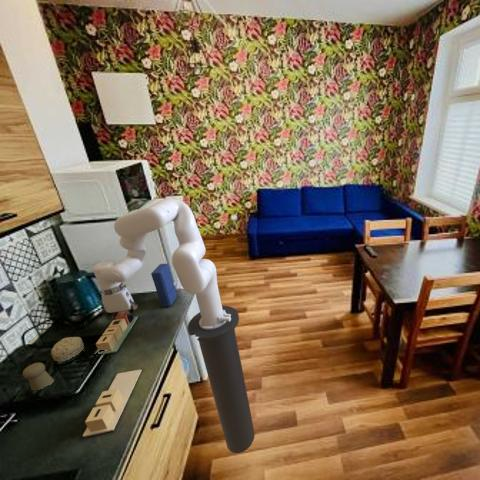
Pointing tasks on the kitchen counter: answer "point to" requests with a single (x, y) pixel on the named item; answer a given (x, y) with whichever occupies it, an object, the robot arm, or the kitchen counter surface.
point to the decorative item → (67, 348)
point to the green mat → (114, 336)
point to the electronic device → (164, 285)
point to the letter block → (122, 316)
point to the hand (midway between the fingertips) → (125, 321)
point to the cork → (37, 376)
